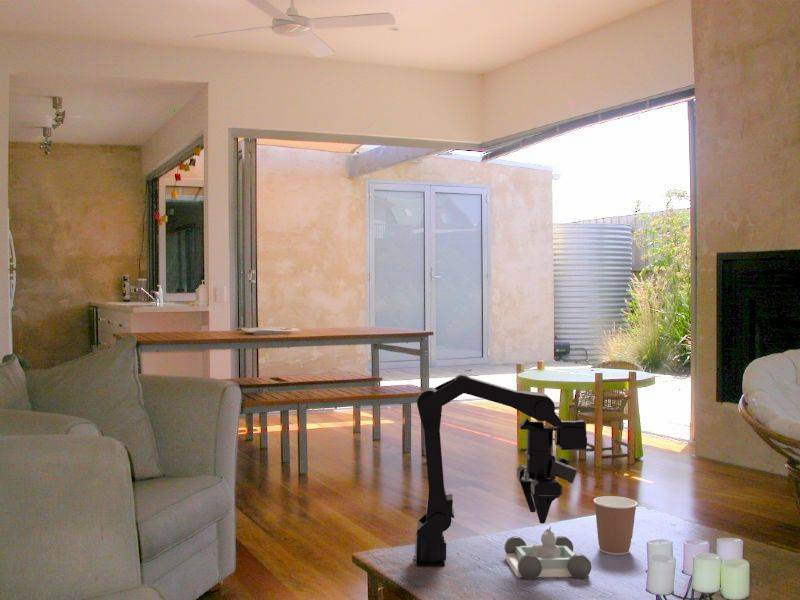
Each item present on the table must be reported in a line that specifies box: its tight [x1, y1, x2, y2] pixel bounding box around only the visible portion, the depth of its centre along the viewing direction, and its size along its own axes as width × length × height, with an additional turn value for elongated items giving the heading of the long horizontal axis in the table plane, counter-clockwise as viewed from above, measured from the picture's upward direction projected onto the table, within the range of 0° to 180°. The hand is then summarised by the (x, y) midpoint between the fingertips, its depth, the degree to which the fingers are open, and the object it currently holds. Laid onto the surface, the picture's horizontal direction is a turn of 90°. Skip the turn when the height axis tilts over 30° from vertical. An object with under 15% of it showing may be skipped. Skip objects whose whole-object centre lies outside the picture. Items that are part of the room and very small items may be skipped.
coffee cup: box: [593, 495, 638, 556], centre depth 206 cm, size 10×10×12 cm
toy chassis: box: [504, 535, 592, 581], centre depth 193 cm, size 16×15×5 cm
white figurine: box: [531, 525, 560, 558], centre depth 192 cm, size 5×7×8 cm
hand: (537, 517), depth 194 cm, fingers open, 9 cm apart
